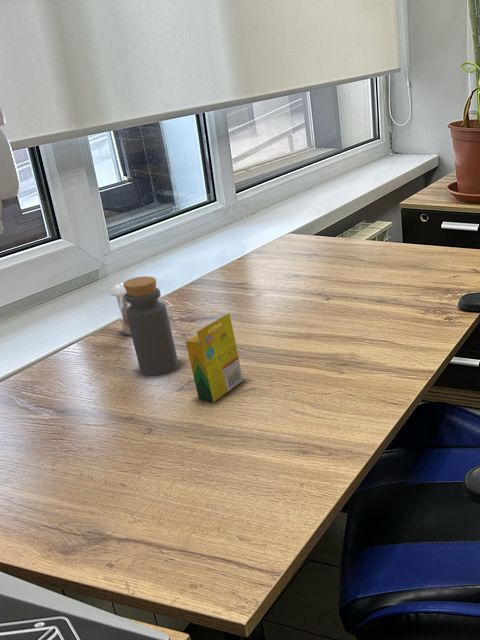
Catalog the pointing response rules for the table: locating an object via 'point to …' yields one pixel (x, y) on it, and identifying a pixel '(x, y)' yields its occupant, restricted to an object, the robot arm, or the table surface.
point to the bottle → (150, 327)
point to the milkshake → (121, 305)
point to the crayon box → (214, 359)
